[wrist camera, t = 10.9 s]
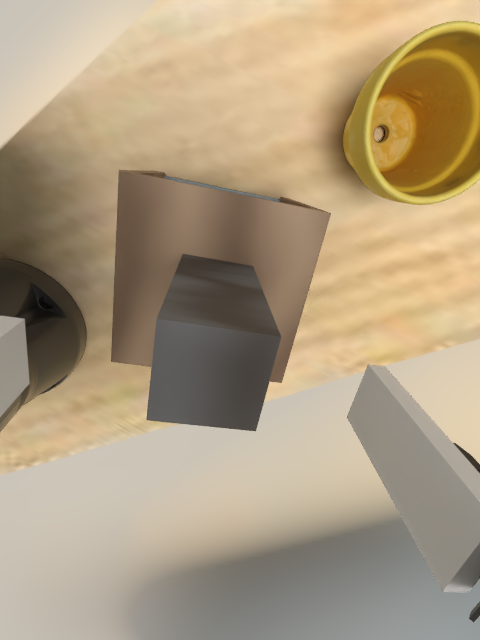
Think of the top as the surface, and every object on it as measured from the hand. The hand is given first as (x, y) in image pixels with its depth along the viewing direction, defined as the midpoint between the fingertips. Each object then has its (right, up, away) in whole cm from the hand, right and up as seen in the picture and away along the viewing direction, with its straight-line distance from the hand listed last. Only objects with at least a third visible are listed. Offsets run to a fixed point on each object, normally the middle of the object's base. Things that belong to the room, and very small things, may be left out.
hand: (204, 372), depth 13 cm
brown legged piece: (-1, +9, +20) cm, 22 cm away
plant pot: (+14, +19, +18) cm, 30 cm away
